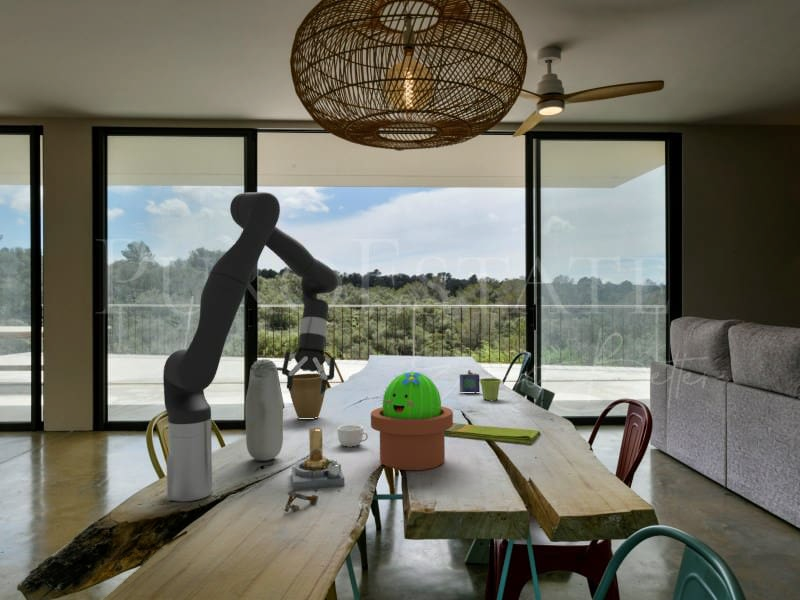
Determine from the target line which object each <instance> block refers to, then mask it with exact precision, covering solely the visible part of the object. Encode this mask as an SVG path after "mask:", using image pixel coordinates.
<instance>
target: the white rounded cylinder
mask: <svg viewBox="0 0 800 600" xmlns="http://www.w3.org/2000/svg"><path fill="white" fill-rule="evenodd" d="M278 375H279V374H278V368H277V365H276V363H275V362H274V361H273V360H270V359H264V358H263V359H257V360H256V361H254V362H253V364H252V365H251V367H250V371H249V380H248V386H247V387H248V388H247V392H246V396H245V397H246V398H245V408H244V412H245V415H244V416H245V417H244V418H245V436H246V437H245V442H246V443H245V444H246V450H247V452H248V454H249V455H250V456H251V458H252V459H254V460H255V461H256V460H257V461H261V462H263V461H264V462H267V461H271V460H273V459H275V458H276V457H277V456H278V455H279V454H280V452H281V451H282V447H283V443H284V405H283V403H284V401H283V395H282V391H281V388H280V386H281V385H280V383H279V382H280V381H279V376H278Z"/></svg>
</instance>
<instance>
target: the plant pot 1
mask: <svg viewBox="0 0 800 600" xmlns="http://www.w3.org/2000/svg"><path fill="white" fill-rule="evenodd" d="M286 379H287V380H288V377H287V376H286ZM287 380H286V381H287ZM321 381H322V379H321V377H320V375H319V374H318V373H315V372H311V373H300V374H299V373H298V374H297V373H296V374H294V375H293V383H292V390H291V391H289V394H290V395H289V396H290V398H291V402H292V405H293V408H294V411H295V413H296V416H297V418H298V417H299V418H315V417H318V416H320V414H321V410H322V406H323V403H324V398H325V394H326V391H325V392H324V393H323V394H322V395H321V394H320V387H321ZM318 418H319V417H318Z"/></svg>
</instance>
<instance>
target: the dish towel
mask: <svg viewBox="0 0 800 600" xmlns="http://www.w3.org/2000/svg"><path fill="white" fill-rule="evenodd" d="M540 435H541V431H540V430H537V429H528V428H527V429H526V428H525V429H524V428H516V427H514V428H512V427H499V426H485V425H474V424H465V423H457V422H453V425H452V427H451V428H449V429H447V430H445V431H444V437H453V438H461V439H469V440H479V441H480V440H481V441H489V442H497V441H499V442H500V443H509V444H520V445H531V444H532V443H533V442H534V441H535V440H536V439H537V438H538V437H539V436H540Z"/></svg>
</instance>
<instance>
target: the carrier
mask: <svg viewBox="0 0 800 600" xmlns="http://www.w3.org/2000/svg"><path fill="white" fill-rule="evenodd" d="M291 478H292V490H295V491H299V490H308V489H309V490H311V489H322V488H323V489H324V488H331V487H333V488H335V487H343V486H345V476H344V473H343V471H342V464H341V462H340V463H339V462H338V461H337V460H336V459H330V458H328V469H325V470H317V471H309V470H304V460H303V461H299V462H297V463H296V464H295V465H294V466H292V467H291Z"/></svg>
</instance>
